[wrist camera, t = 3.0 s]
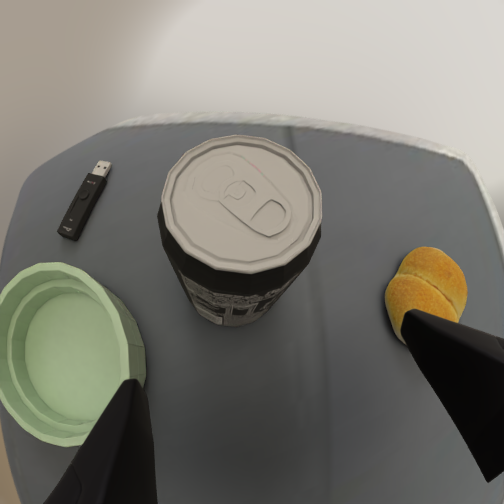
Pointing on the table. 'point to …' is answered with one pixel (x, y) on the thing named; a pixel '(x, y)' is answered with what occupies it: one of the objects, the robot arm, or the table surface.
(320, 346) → the table surface
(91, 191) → the usb flash drive
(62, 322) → the bowl
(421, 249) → the bread roll
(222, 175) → the beverage can
